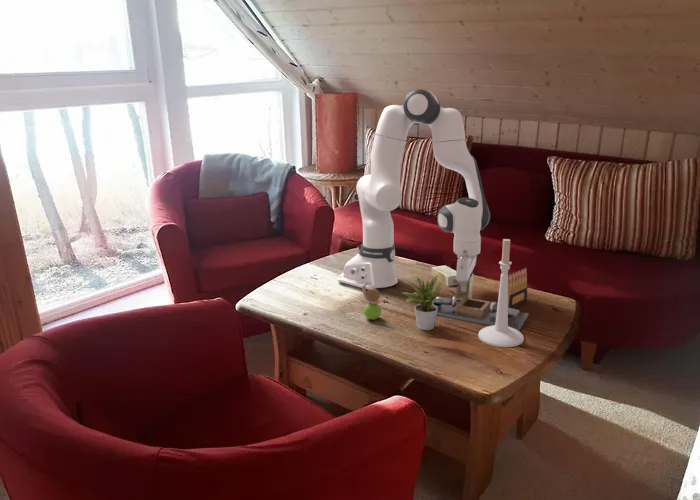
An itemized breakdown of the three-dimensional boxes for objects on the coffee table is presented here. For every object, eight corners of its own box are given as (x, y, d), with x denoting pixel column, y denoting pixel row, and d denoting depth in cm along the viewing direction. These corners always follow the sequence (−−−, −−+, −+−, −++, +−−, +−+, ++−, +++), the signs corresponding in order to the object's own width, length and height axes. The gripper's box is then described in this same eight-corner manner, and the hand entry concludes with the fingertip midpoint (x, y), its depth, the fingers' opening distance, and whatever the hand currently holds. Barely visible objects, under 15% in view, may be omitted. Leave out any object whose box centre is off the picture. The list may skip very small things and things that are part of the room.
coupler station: (419, 311, 188) (419, 301, 187) (433, 299, 198) (433, 290, 197) (519, 330, 173) (520, 319, 172) (528, 316, 183) (529, 306, 182)
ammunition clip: (509, 310, 188) (511, 275, 185) (504, 308, 189) (506, 273, 186) (526, 301, 195) (529, 267, 191) (522, 300, 196) (524, 266, 193)
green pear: (365, 314, 187) (365, 278, 183) (384, 317, 184) (384, 281, 181) (358, 320, 182) (357, 284, 179) (376, 323, 179) (376, 287, 176)
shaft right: (520, 319, 178) (521, 306, 176) (514, 323, 175) (515, 310, 174) (493, 312, 183) (494, 300, 182) (487, 316, 181) (488, 303, 180)
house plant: (414, 312, 187) (415, 264, 183) (455, 320, 180) (457, 271, 176) (395, 328, 175) (395, 278, 171) (437, 338, 169) (438, 285, 164)
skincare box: (462, 285, 211) (445, 275, 222) (463, 274, 209) (446, 264, 220) (447, 288, 208) (430, 277, 219) (447, 276, 207) (431, 267, 218)
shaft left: (427, 308, 188) (427, 296, 187) (429, 304, 191) (429, 292, 190) (455, 311, 185) (455, 298, 184) (456, 307, 188) (457, 294, 187)
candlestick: (533, 339, 166) (541, 239, 158) (501, 351, 160) (508, 247, 151) (499, 324, 177) (505, 230, 168) (469, 335, 170) (473, 236, 162)
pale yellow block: (456, 299, 197) (459, 272, 194) (459, 295, 200) (462, 269, 197) (467, 302, 195) (470, 275, 192) (471, 298, 198) (474, 271, 195)
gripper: (472, 256, 183) (470, 297, 187) (480, 239, 201) (479, 277, 205) (452, 255, 185) (451, 295, 189) (462, 238, 203) (461, 275, 207)
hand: (465, 286), depth 197 cm, fingers open, 8 cm apart
